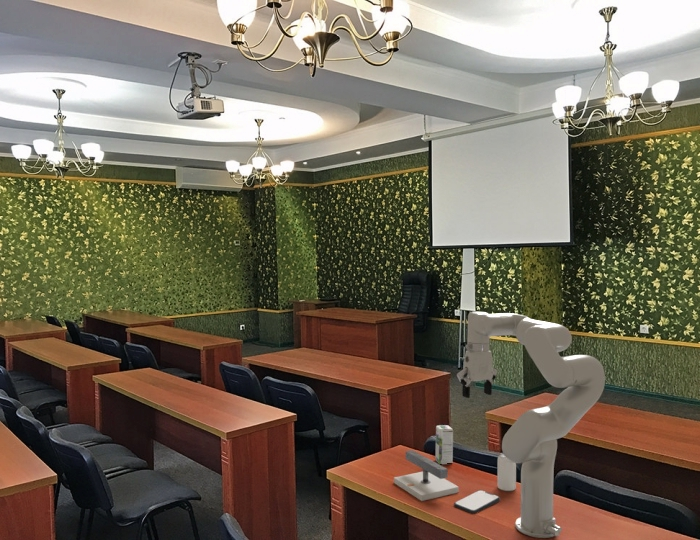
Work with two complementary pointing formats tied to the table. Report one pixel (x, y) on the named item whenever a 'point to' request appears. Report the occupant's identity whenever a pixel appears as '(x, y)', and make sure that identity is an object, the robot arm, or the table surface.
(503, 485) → the can
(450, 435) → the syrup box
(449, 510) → the table surface
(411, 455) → the t key
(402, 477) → the key plate
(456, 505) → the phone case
